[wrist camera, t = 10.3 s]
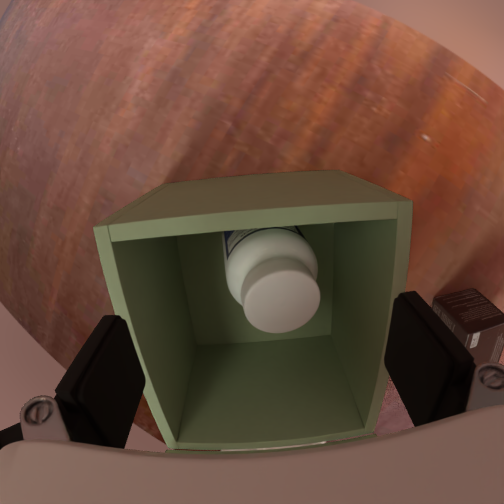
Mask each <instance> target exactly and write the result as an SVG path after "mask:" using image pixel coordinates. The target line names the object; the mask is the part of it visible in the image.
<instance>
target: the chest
mask: <svg viewBox="0 0 504 504" xmlns="http://www.w3.org/2000/svg"><path fill="white" fill-rule="evenodd" d="M412 214H413V201H412V200H410V199H407V198H405V197H403V196H401V195H399V194H396V193H394V192H392V191H389V190H387V189H385V188H383V187H380V186H378V185H375V184H373V183H371V182H368V181H366V180H363V179H361V178H358V177H356V176H354V175H351V174H348V173H346V172H343V171H341V170H318V171H298V172H281V173H267V174H253V175H242V176H230V177H220V178H210V179H201V180H192V181H183V182H175V183H167V184H162V185H160V186H158V187H157V188H155V189H153V190H151V191H150V192H148V193H146V194H145V195H143V196H141V197H140V198H138V199H136V200H135V201H133V202H132V203H130V204H128V205H127V206H125V207H123V208H122V209H120V210H119V211H117V212H115V213H114V214H112V215H111V216H109V217H108V218H106V219H105V220H103V221H101V222H100V223H98V224H97V225H95V226H94V227H93V230H94V234H95V239H96V243H97V248H98V252H99V256H100V260H101V264H102V268H103V272H104V276H105V280H106V284H107V287H108V291H109V294H110V298H111V301H112V305H113V308H114V311H115V315H119V316H121V318H122V319H125V320H126V322H127V325H128V328H129V331H130V334H131V337H132V340H133V343H134V346H135V349H136V352H137V355H138V358H139V361H140V364H141V366H142V369H143V372H144V374H145V378H146V384H145V388H144V391H143V393H144V395H145V398H146V400H147V402H148V405H149V407H150V409H151V412H152V414H153V416H154V419H155V421H156V423H157V425H158V427H159V430H160V432H161V434H162V436H163V438H164V440H165V442H166V444H167V446H168V448H174V449H201V450H229V449H256V448H271V447H283V446H293V445H302V444H310V443H318V442H324V441H331V440H337V439H343V438H349V437H354V436H359V435H364V434H369V433H373V432H374V429H375V426H376V423H377V419H378V416H379V412H380V409H381V405H382V402H383V398H384V394H385V390H386V387H387V383H388V378H389V373H388V371H387V369H386V367H385V364H384V355H385V350H386V345H387V339H388V334H389V328H390V322H391V315H392V309H393V302H394V299H395V298H397V297H398V295H399V294H400V293H403V292H405V288H406V281H407V272H408V263H409V254H410V243H411V230H412ZM295 225H297V226H298V227H299V229H300V231H301V232H302V234H303V235H304V237H305V239H306V240H307V241H308V243H309V244H310V246H311V247H312V249H313V251H314V254H315V256H316V259H317V264H318V273H317V279H316V282H317V284H318V287H319V290H320V303H319V307H318V309H317V311H316V313H315V314H314V316H313V317H312V318H311V319H310V320H309V321H308V322H307V323H305V324H304V325H303V326H301V327H299V328H297V329H295V330H292V331H289V332H285V333H269V332H264V331H261V330H259V329H257V328H256V327H254V326H253V325H252V324H251V323H250V322H249V321H248V320H247V318H246V316H245V313H244V309H243V306H242V305H241V304H239V303H238V302H237V301H236V300H235V298H234V297H233V296H232V294H231V292H230V290H229V288H228V285H227V280H226V272H225V264H224V252H223V243H222V231H232V230H244V229H256V228H268V227H281V226H295Z"/></svg>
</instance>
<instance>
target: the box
mask: <svg viewBox="0 0 504 504" xmlns="http://www.w3.org/2000/svg"><path fill="white" fill-rule="evenodd" d="M432 310H433V311H434V312H435V313H436V314H437V315H438V316H439V317H440V319H441V320H442V321H443V322H444V323H445V324H446V325H447V326H448V328H449V329H450V330H451V331H452V332H453V333H454V335H455V336H456V337H457V338H458V339H459V340H460V342H461V343H462V344H463V345H464V346H465V348H466V349H467V350H468V351H469V352H470V354H471V355H472V356H473V357H474V358H475V359H474V361H473V362H474V363H475V364H476V366H478V365H479V364H481V363H483V362H488V361H491V362H497V363H498V362H499V359H500V356H501V353H502V351H503V348H504V313H503V312H502V311H500V310H499V309H498V308H497V307H496V306H495V305H494V304H493V303H491V302H490V301H489V300H488V299H487V298H486V297H484V296H483V295H482V294H481V293H480V292H478V291H477V290H476V289H473V288H472V289H469V290H465V291H462V292H458V293H454V294H449V295H444V296H439V297H436V298H434V299H433V305H432Z"/></svg>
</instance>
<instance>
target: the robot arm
mask: <svg viewBox="0 0 504 504" xmlns="http://www.w3.org/2000/svg"><path fill="white" fill-rule="evenodd" d="M474 359H475V358H474V357H473V356H472V355H471V354H470V352H469V351H468V350H467V349H466V348H465V346H464V345H463V344H462V343H461V342H460V340H459V339H458V338H457V337H456V336H455V335H454V333H453V332H452V331H451V330H450V329H449V328H448V326H447V325H446V324H445V323H444V322H443V321H442V320H441V319H440V317H439V316H438V315H437V314H436V313H435V312H434V311H433V310H432V308H431V307H430V306H429V305H428V304H427V303H426V302H425V301H424V300H423V299H422V298H421V296H420V295H419V294H418V293H417V292H416V291H410V292H403V293H400V294H399V295H398V297H397V298H395V299H394V302H393V309H392V315H391V322H390V328H389V334H388V339H387V345H386V350H385V355H384V364H385V367H386V369H387V371H388V373H389V375H390V377H391V379H392V381H393V383H394V385H395V387H396V389H397V391H398V393H399V395H400V397H401V399H402V401H403V403H404V405H405V407H406V409H407V411H408V414H409V416H410V418H411V420H412V422H413V424H414V426H415V427H413V428H410V429H406V430H402V431H398V432H394V433H390V434H386V435H382V436H377V437H373V438H368V439H363V440H358V441H353V442H348V443H342V444H336V445H329V446H323V447H316V448H308V449H300V450H291V451H280V452H267V453H250V454H179V453H161V452H149V451H139V450H130V449H124V448H125V444H126V441H127V438H128V435H129V432H130V429H131V426H132V423H133V420H134V417H135V414H136V411H137V408H138V405H139V402H140V399H141V396H142V394H143V391H144V388H145V384H146V378H145V374H144V372H143V369H142V366H141V364H140V361H139V358H138V355H137V352H136V349H135V346H134V343H133V340H132V337H131V334H130V331H129V328H128V325H127V322H126V320H125V319H122V318H121V316H119V315H105V316H103V317H102V319H101V320H100V322H99V323H98V325H97V326H96V327H95V329H94V330H93V332H92V333H91V335H90V336H89V338H88V339H87V341H86V342H85V344H84V345H83V347H82V348H81V350H80V351H79V353H78V354H77V356H76V357H75V359H74V361H73V362H72V364H71V365H70V367H69V368H68V370H67V372H66V373H65V375H64V376H63V378H62V380H61V381H60V383H59V384H58V386H57V388H56V389H55V392H56V396H55V398H54V399H53V398H52V397H50V396H37V397H34V398H32V399H30V400H29V401H28V402H27V403H25V404H24V406H23V407H22V409H21V412H20V423H17V424H15V425H13V426H11V427H8V428H6V429H4V430H2V431H0V504H504V365H502V364H500V363H497V362H491V361H488V362H483V363H481V364H479V365H478V366H476V364H475V363H474V362H473V361H474Z"/></svg>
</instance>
